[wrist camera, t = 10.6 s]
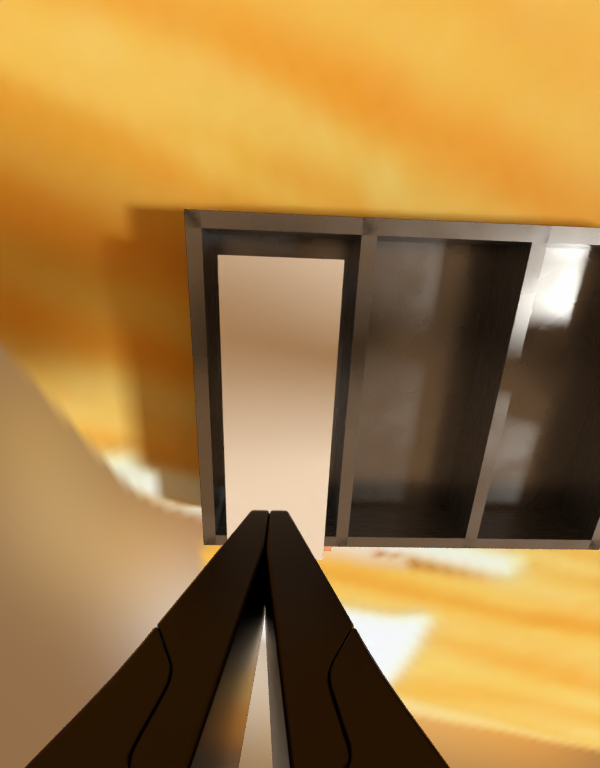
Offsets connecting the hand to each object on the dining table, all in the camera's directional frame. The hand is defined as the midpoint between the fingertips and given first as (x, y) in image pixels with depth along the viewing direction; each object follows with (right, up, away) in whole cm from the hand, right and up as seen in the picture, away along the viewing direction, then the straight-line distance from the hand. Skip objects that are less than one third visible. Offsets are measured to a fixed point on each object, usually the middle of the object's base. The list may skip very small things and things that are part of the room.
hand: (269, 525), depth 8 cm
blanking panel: (0, +3, +10) cm, 10 cm away
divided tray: (+6, +3, +10) cm, 12 cm away
